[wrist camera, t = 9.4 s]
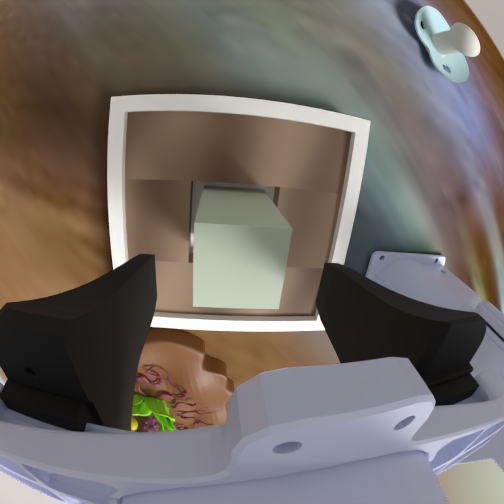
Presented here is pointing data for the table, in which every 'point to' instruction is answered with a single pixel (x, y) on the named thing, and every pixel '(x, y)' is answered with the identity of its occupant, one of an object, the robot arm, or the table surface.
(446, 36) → the pacifier
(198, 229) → the peg
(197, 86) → the table surface
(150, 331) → the plant
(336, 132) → the hole plate
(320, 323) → the tray
